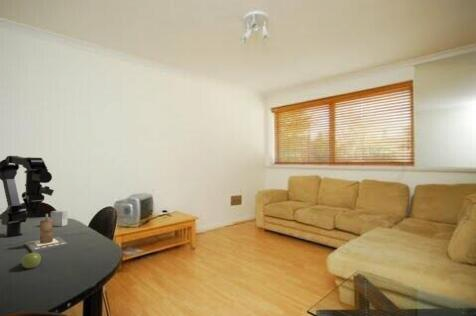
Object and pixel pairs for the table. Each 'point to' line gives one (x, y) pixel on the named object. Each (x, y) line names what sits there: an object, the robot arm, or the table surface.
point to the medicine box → (59, 218)
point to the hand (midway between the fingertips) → (32, 213)
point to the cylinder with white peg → (46, 230)
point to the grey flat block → (46, 245)
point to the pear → (31, 260)
